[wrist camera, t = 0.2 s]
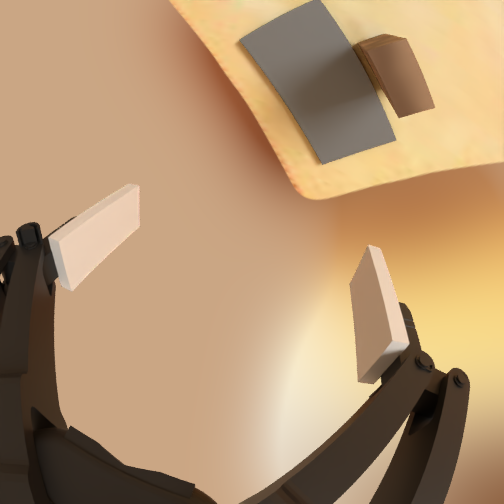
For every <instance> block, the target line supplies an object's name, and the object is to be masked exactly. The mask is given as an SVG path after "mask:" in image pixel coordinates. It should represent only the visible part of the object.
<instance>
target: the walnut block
mask: <svg viewBox="0 0 504 504" xmlns="http://www.w3.org/2000/svg"><path fill="white" fill-rule="evenodd" d="M358 45H359V46H360V48H361V50H362V52H363V53H364V55H365V57H366V59H367V61H368V62H369V64H370V66H371V68H372V70H373V72H374V74H375V76H376V78H377V80H378V82H379V84H380V86H381V88H382V90H383V92H384V93H385V95H386V97H387V98H388V100H389V102H390V103H391V105H392V107H393V109H394V110H395V112H396V114H397V116H398V118H401V117H404V116H408V115H411V114H415V113H418V112H422V111H425V110H429V109H433V108H435V106H434V103H433V100H432V97H431V95H430V92H429V89H428V87H427V84H426V81H425V79H424V76H423V74H422V71H421V69H420V67H419V64H418V62H417V60H416V58H415V56H414V53H413V51H412V49H411V47H410V45H409V43H408V41H407V39H405V38H401V37H397V36H393V35H388V34H383V35H380V36H377V37H373V38H370V39H368V40H365V41H362V42H359V43H358Z"/></svg>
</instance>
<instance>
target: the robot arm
mask: <svg viewBox="0 0 504 504" xmlns="http://www.w3.org/2000/svg"><path fill="white" fill-rule="evenodd" d="M139 227H140V220H139V185H135V184H130V183H129V184H127V185H126V186H124V187H122V188H120V189H119V190H117V191H115V192H114V193H112V194H111V195H109V196H107V197H106V198H104V199H102V200H101V201H100V202H98V203H96V204H95V205H93V206H92V207H90V208H89V209H87V210H86V211H84V212H83V213H81V214H80V215H78V216H76V217H73V218H71V219H70V220H68V221H67V222H65V224H63V225H62V226H60V228H58V229H56V230H54V231H53V232H52V233H50V234H49V235H48V236H46V237H45V238H44V239H42V234H41V230H40V225H39V224H38V223H35V222H32V223H27V224H24V225H22V226H21V227H19V228H18V229H17V231H16V234H17V238H18V242H19V245H14V241H13V238H12V237H11V236H2V237H0V274H1V273H2V276H3V278H4V281H3V283H1V281H0V504H217V503H216V502H215V501H214V500H213V499H212V498H211V497H209V496H208V495H206V494H205V493H204V492H202V491H200V490H199V489H197V488H195V484H192V483H189V482H186V481H183V480H180V479H178V478H175V477H172V476H169V475H167V474H164V473H161V472H156V471H150V470H145V469H140V468H135V467H131V466H126V465H124V464H123V463H122V462H120V461H119V460H118V459H117V458H115V457H114V456H113V455H112V454H111V453H109V452H108V451H107V450H106V449H104V448H103V447H102V446H101V445H100V444H99V443H98V442H96V441H95V440H93V439H91V438H90V437H88V436H86V435H85V434H83V433H81V432H80V431H78V430H77V429H75V428H74V427H72V426H70V427H69V429H68V428H67V425H66V422H65V420H64V418H63V416H62V414H61V411H60V407H59V401H58V393H57V384H56V372H55V356H54V306H55V290H56V286H55V282H54V280H55V279H56V278H57V277H59V280H60V283H61V286H62V287H64V288H66V289H68V290H70V291H73V290H74V289H75V288H76V287H77V286H78V285H79V284H80V283H81V282H82V281H83V280H84V279H85V277H86V276H87V275H88V274H89V273H90V272H91V271H92V270H93V269H95V268H96V266H97V265H99V264H100V263H101V262H102V260H104V259H105V258H106V257H107V256H108V255H109V254H110V253H111V252H112V251H113V250H114V249H115V248H116V247H117V246H119V245H120V244H121V243H122V242H123V241H124V240H125V239H126V238H127V237H128V236H130V235H131V234H132V233H133V232H134V231H135V230H136V229H138V228H139ZM350 292H351V300H352V309H353V318H354V329H355V341H356V356H357V373H358V382H361V383H368V384H374V383H375V382H376V381H377V380H378V379H379V378H380V377H381V383H382V385H381V386H380V387H379V388H378V389H377V390H376V391H374V393H372V394H371V395H370V396H369V397H370V398H369V399H368V400H367V401H366V402H365V403H364V404H363V405H362V406H361V407H360V409H358V411H357V412H356V413H355V414H354V415H353V416H352V417H351V418H350V419H349V420H348V421H347V422H346V423H345V424H344V425H343V426H342V427H341V428H340V429H338V430H337V432H335V433H334V434H333V435H332V436H331V437H330V438H329V439H328V440H327V441H325V442H324V443H323V444H322V445H321V446H320V447H319V448H317V449H316V450H315V451H314V452H313V453H312V454H310V455H309V456H308V457H307V458H306V459H304V460H303V461H302V462H301V463H299V464H298V465H297V466H296V467H294V468H293V469H292V470H290V471H289V472H288V473H286V474H285V475H284V476H282V477H281V478H279V479H278V480H277V481H275V482H274V483H272V484H271V485H269V486H268V487H267V488H265V489H264V490H262V491H260V492H259V493H257V494H255V495H253V496H251V497H250V498H248V499H246V500H244V501H243V502H241V503H239V504H333V503H334V502H335V501H336V500H337V499H338V498H339V497H341V496H342V494H344V492H346V491H347V490H348V489H349V488H350V487H351V486H352V485H353V483H354V482H355V481H356V480H357V479H358V478H359V477H360V476H361V475H362V474H363V473H364V471H366V470H367V468H368V467H369V466H370V465H371V464H372V463H373V461H374V460H375V459H376V458H377V457H378V456H379V454H380V453H381V452H382V451H383V449H384V448H385V447H386V446H387V444H388V443H389V442H390V440H391V439H392V438H393V436H394V435H395V434H396V432H397V431H398V430H399V428H400V427H401V425H402V424H403V422H404V421H405V420H406V418H407V417H408V415H409V414H410V416H409V418H408V421H407V424H406V426H405V429H404V432H403V434H402V437H401V439H400V442H399V444H398V447H397V449H396V451H395V454H394V456H393V458H392V460H391V463H390V465H389V467H388V469H387V471H386V473H385V475H384V477H383V479H382V481H381V483H380V485H379V487H378V489H377V491H376V492H375V494H374V496H373V498H372V500H371V502H370V503H369V504H443V503H444V501H445V498H446V495H447V492H448V490H449V487H450V484H451V480H452V477H453V474H454V470H455V467H456V463H457V459H458V455H459V451H460V447H461V443H462V438H463V432H464V427H465V422H466V415H467V407H468V400H469V391H470V382H469V379H468V377H467V375H466V374H465V372H463V371H462V370H461V369H458V368H453V369H451V370H450V371H449V372H448V373H447V374H446V373H444V372H441V371H439V370H437V369H435V365H434V362H433V360H432V358H431V357H430V356H429V355H428V354H427V353H425V352H424V351H422V350H421V346H420V342H419V339H418V335H417V332H416V329H415V325H414V322H413V318H412V315H411V312H410V310H409V309H408V308H407V306H406V305H405V304H404V303H400V302H398V300H397V296H396V293H395V289H394V287H393V283H392V280H391V277H390V274H389V271H388V269H387V266H386V262H385V260H384V257H383V254H382V251H381V249H380V248H377V247H374V246H371V245H368V246H367V248H366V250H365V253H364V255H363V257H362V259H361V261H360V264H359V266H358V268H357V270H356V272H355V274H354V276H353V278H352V280H351V282H350Z"/></svg>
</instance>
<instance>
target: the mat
mask: <svg viewBox="0 0 504 504" xmlns="http://www.w3.org/2000/svg"><path fill="white" fill-rule="evenodd" d="M240 42H241V43H242V44H243V45H244V47H245V48H246V49H247V51H248V52H249V53H250V54H251V56H252V57H253V58H254V60H255V61H256V62H257V64H258V65H259V66H260V68H261V69H262V71H263V72H264V73H265V75H266V76H267V78H268V79H269V80H270V82H271V83H272V85H273V86H274V87H275V89H276V90H277V92H278V93H279V95H280V96H281V98H282V99H283V101H284V102H285V104H286V105H287V107H288V108H289V110H290V111H291V113H292V115H293V116H294V118H295V119H296V121H297V122H298V124H299V126H300V127H301V129H302V131H303V132H304V134H305V135H306V137H307V139H308V140H309V142H310V144H311V146H312V147H313V149H314V151H315V152H316V154H317V156H318V158H319V159H320V161H321V163H322V165H323V164H326V163H329V162H332V161H335V160H337V159H340V158H343V157H346V156H349V155H352V154H355V153H358V152H361V151H364V150H367V149H370V148H373V147H377V146H380V145H383V144H386V143H389V142H393V141H396V138H395V135H394V133H393V130H392V128H391V125H390V123H389V120H388V118H387V116H386V113H385V111H384V109H383V107H382V104H381V102H380V100H379V98H378V96H377V94H376V91H375V89H374V87H373V85H372V83H371V81H370V79H369V77H368V75H367V74H366V72H365V70H364V68H363V66H362V64H361V62H360V61H359V59H358V57H357V55H356V54H355V52H354V50H353V48H352V47H351V45H350V43H349V42H348V40H347V39H346V37H345V35H344V34H343V32H342V31H341V29H340V28H339V26H338V25H337V23H336V22H335V20H334V19H333V17H332V16H331V14H330V13H329V12H328V10H327V9H326V7H325V6H324V5H323V3H322V2H321V1H320V0H313V1H310V2H308V3H306V4H304V5H302V6H299V7H297V8H295V9H293V10H291V11H289V12H287V13H285V14H283V15H281V16H279V17H278V18H276V19H274V20H272V21H270V22H268V23H267V24H265V25H263V26H261V27H260V28H258V29H256V30H255V31H253V32H251V33H250V34H248V35H246V36H245V37H243V38H241V39H240Z"/></svg>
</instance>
